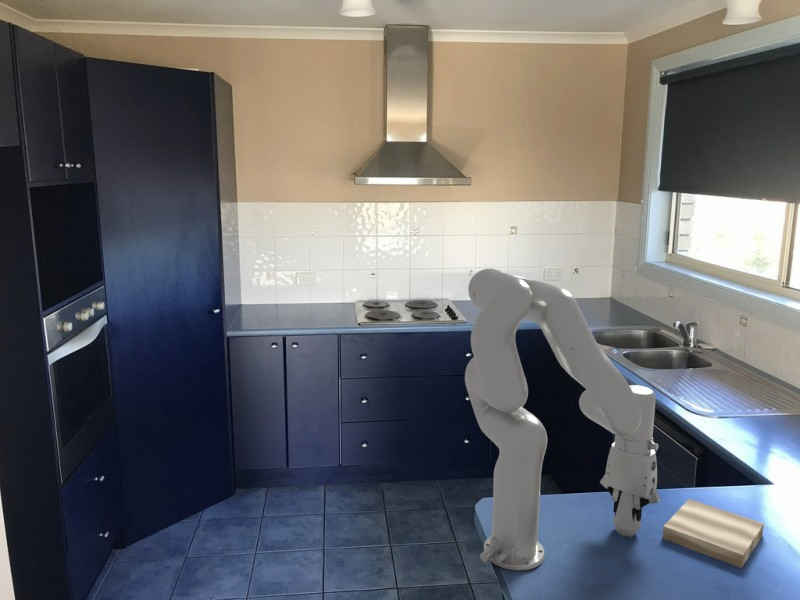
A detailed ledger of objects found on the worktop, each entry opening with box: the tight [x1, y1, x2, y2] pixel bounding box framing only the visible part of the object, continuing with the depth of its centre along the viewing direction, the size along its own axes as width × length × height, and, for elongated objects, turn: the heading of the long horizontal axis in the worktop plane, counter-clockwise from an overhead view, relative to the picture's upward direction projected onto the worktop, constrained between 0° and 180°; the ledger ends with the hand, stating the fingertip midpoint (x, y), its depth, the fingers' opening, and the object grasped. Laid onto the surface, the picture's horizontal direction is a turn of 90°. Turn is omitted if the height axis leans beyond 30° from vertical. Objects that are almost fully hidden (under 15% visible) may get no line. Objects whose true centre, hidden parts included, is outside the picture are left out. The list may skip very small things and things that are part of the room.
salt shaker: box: [612, 488, 642, 538], centre depth 144 cm, size 6×6×13 cm
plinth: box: [662, 498, 765, 569], centre depth 143 cm, size 16×16×3 cm
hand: (626, 518), depth 144 cm, fingers closed on salt shaker, 3 cm apart
